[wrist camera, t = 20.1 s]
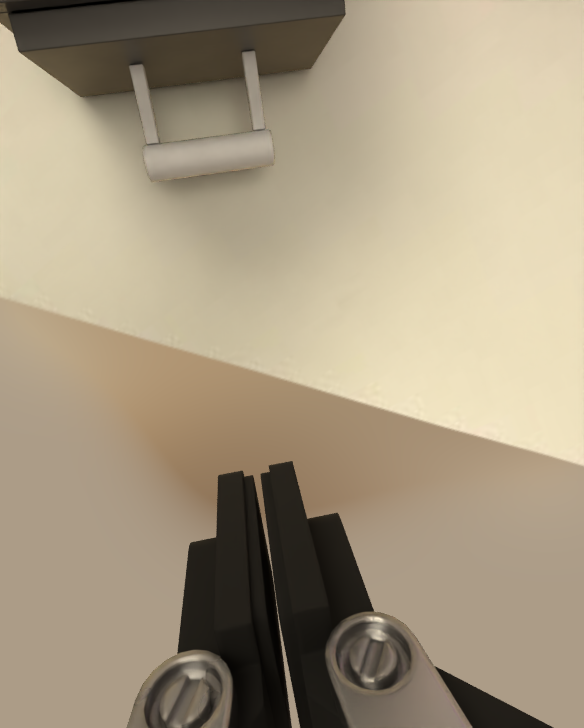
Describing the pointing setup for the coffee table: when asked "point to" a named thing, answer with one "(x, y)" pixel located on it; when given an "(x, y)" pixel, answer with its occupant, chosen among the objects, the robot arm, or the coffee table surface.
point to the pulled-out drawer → (180, 61)
